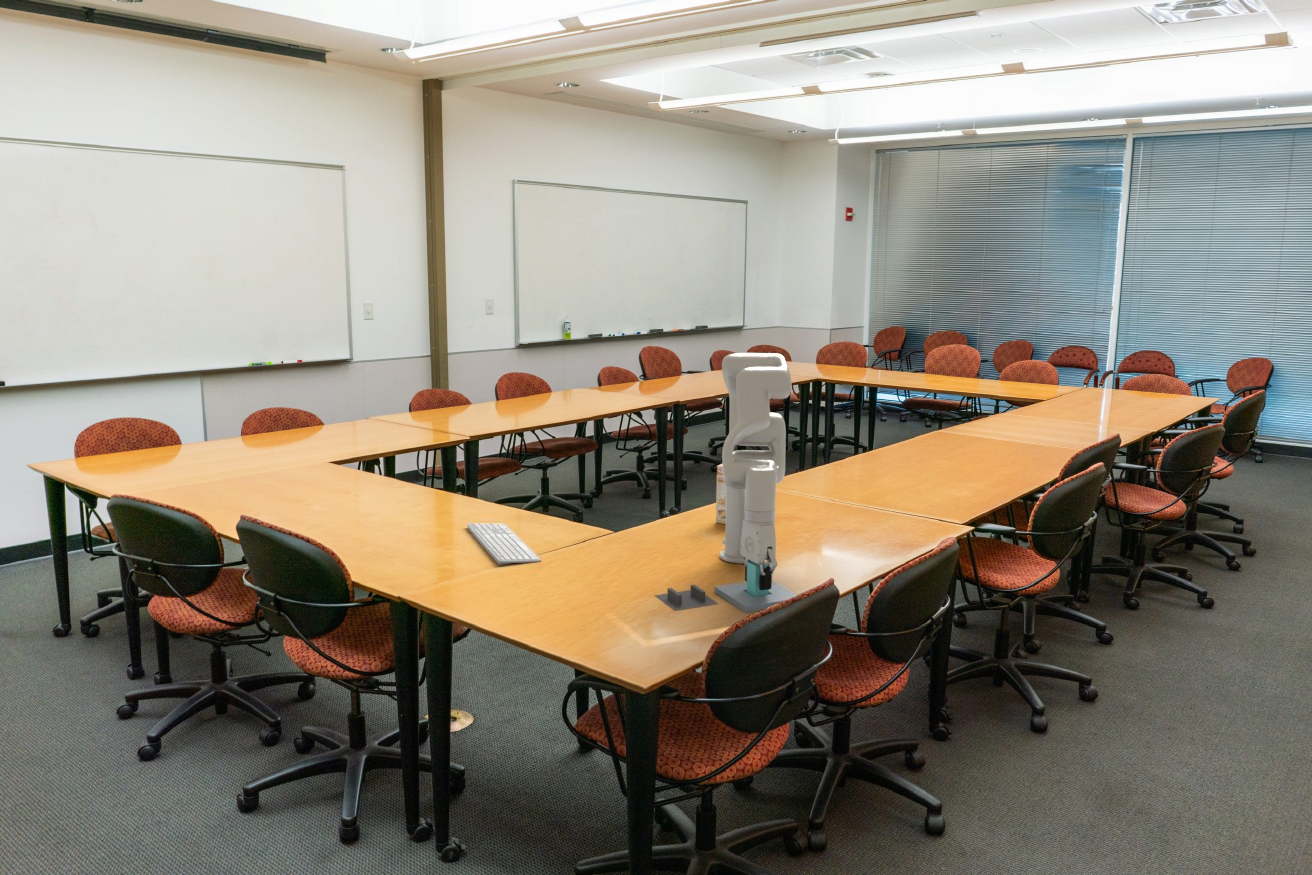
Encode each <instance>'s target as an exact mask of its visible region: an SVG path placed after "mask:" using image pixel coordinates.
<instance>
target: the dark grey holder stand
mask: <svg viewBox="0 0 1312 875" xmlns="http://www.w3.org/2000/svg"><path fill="white" fill-rule="evenodd" d="M654 597H656V598H657V599H658V600H659V601H661V602H662V603H664V604H665V605H667V606H668V607H669V608H670V609H672V610H673V611H675V612H676V611H683V610H690V609H696V608H702V607H709V606H715V605H720V603H718V601H715V600H714V599H712V598H711V597H709V596H708V595H706V591H705V590H704V589H702V588H701V587H699V586H697V585H696V584H690V589H688V590H683V591H676V590H675V589H673V587H668V588H667V593H661V594H655V595H654Z"/></svg>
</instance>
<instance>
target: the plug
mask: <svg viewBox="0 0 1312 875" xmlns="http://www.w3.org/2000/svg"><path fill="white" fill-rule="evenodd" d="M767 566H768V565H767V564H765V565H764V568H766V567H767ZM760 574H761V569H760V564H756V563H754V562H752V561H750V562H747V593H748V594H750V595H752V596H753V597H756V596H763V595H769V589H768V590H762V591H761V590H759V578H760Z"/></svg>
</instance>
